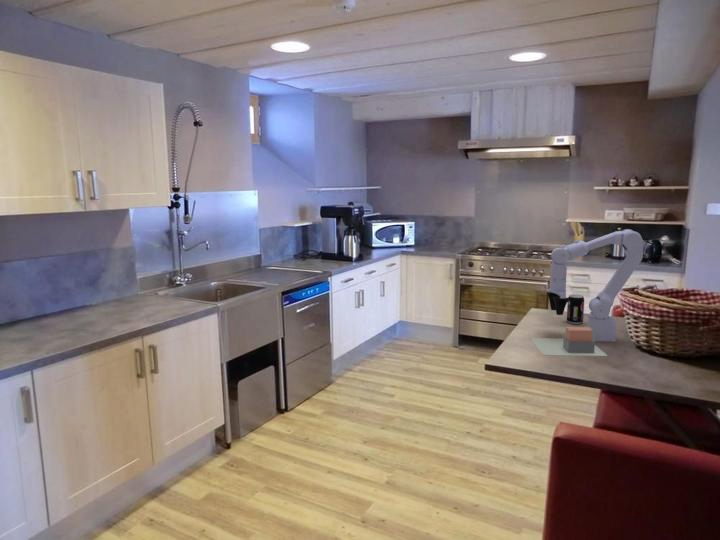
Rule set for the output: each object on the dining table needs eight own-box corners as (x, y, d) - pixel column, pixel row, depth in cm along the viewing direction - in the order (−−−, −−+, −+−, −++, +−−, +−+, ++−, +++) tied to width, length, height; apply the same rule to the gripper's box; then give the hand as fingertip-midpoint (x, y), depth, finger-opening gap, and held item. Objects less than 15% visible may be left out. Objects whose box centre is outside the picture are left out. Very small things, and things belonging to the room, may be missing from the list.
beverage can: (578, 325, 217) (580, 298, 215) (563, 322, 222) (565, 296, 220) (585, 322, 221) (587, 295, 219) (571, 319, 226) (572, 293, 224)
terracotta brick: (587, 337, 186) (588, 327, 185) (592, 341, 181) (592, 330, 181) (565, 337, 186) (565, 326, 186) (569, 341, 182) (569, 330, 181)
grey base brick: (588, 347, 187) (588, 337, 186) (594, 352, 181) (594, 342, 180) (563, 347, 188) (563, 336, 187) (568, 352, 182) (568, 341, 181)
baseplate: (587, 339, 198) (587, 338, 197) (607, 356, 178) (607, 355, 178) (529, 339, 200) (529, 338, 200) (543, 355, 180) (543, 354, 180)
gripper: (543, 275, 206) (541, 307, 208) (553, 282, 192) (551, 316, 194) (560, 275, 205) (559, 308, 208) (572, 282, 191) (570, 317, 193)
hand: (556, 312), depth 201 cm, fingers open, 7 cm apart
